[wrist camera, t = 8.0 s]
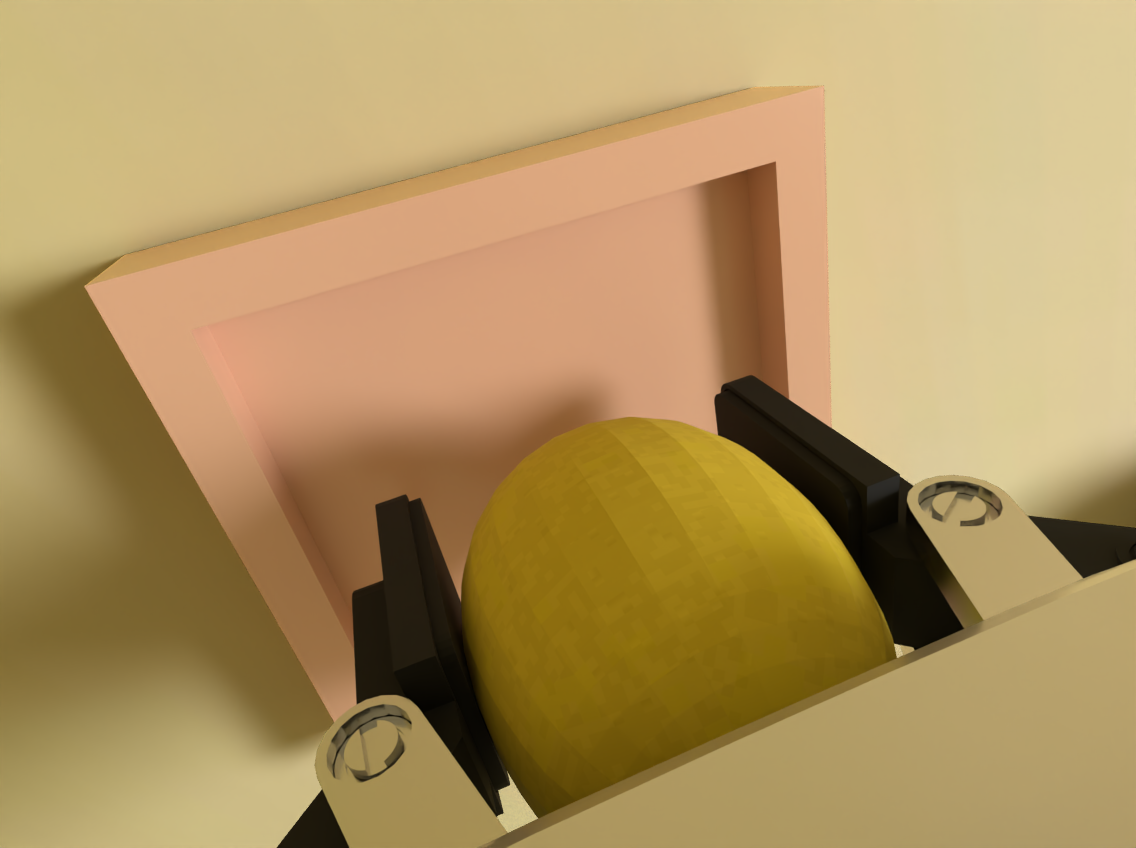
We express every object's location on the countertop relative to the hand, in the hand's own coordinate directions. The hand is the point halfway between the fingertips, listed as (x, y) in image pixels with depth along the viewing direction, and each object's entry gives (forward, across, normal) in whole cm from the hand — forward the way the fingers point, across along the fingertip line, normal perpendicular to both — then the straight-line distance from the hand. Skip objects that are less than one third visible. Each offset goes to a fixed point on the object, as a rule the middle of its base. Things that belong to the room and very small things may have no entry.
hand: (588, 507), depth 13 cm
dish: (+3, 0, 0) cm, 3 cm away
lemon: (+1, 0, 0) cm, 1 cm away
